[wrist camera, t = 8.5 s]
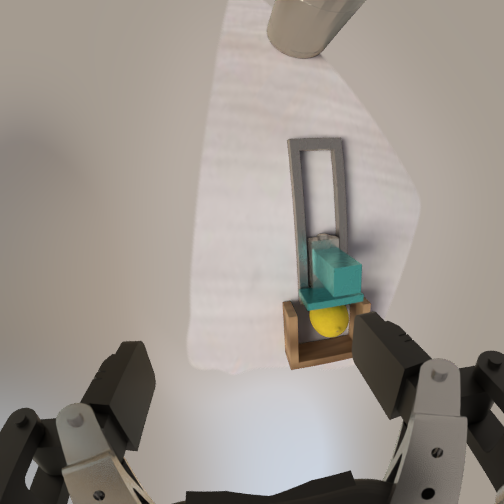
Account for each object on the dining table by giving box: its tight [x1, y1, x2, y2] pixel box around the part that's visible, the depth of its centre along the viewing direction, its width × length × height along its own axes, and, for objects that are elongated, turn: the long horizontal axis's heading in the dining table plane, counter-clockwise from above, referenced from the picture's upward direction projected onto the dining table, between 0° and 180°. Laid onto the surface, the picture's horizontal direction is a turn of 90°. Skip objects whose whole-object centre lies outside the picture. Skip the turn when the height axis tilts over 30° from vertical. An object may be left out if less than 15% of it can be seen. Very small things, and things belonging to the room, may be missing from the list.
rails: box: [287, 138, 347, 305], centre depth 39 cm, size 24×7×2 cm, turn 6°
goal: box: [283, 297, 371, 370], centre depth 42 cm, size 9×12×5 cm
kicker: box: [299, 234, 364, 311], centre depth 36 cm, size 8×8×10 cm
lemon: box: [309, 305, 349, 337], centre depth 39 cm, size 6×6×8 cm
